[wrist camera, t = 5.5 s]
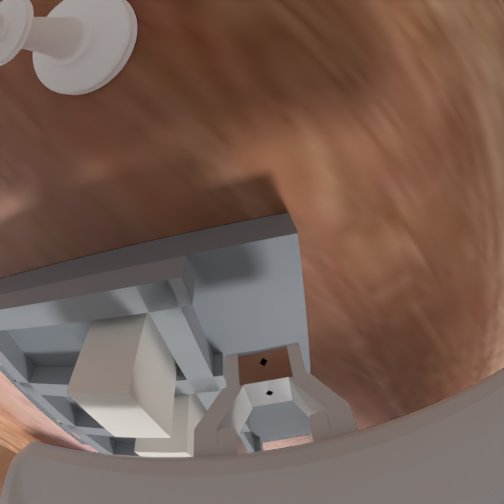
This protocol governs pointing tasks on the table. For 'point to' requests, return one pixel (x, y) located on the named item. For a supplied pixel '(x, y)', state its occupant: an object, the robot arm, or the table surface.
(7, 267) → the table surface
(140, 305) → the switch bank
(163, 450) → the tab mid
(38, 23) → the chess piece
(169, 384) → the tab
